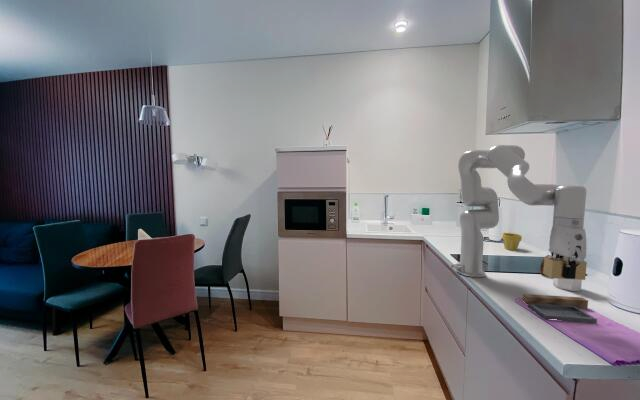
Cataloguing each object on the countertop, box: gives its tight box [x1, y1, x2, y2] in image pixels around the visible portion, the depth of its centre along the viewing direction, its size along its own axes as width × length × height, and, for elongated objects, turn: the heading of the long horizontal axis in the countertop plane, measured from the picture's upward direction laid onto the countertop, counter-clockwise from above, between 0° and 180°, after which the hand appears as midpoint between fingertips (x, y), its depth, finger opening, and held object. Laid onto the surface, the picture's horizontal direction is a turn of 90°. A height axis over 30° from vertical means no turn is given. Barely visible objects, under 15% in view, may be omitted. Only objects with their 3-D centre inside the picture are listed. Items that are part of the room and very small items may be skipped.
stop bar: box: [542, 256, 588, 281], centre depth 89 cm, size 4×10×6 cm, turn 82°
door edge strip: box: [521, 293, 589, 309], centre depth 97 cm, size 20×2×3 cm, turn 82°
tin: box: [539, 254, 552, 275], centre depth 130 cm, size 15×3×8 cm, turn 127°
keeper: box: [527, 303, 598, 324], centre depth 91 cm, size 15×9×2 cm, turn 82°
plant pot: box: [501, 232, 523, 251], centre depth 174 cm, size 10×10×10 cm
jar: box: [552, 278, 583, 292], centre depth 113 cm, size 9×8×12 cm
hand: (563, 275), depth 89 cm, fingers closed on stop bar, 4 cm apart
